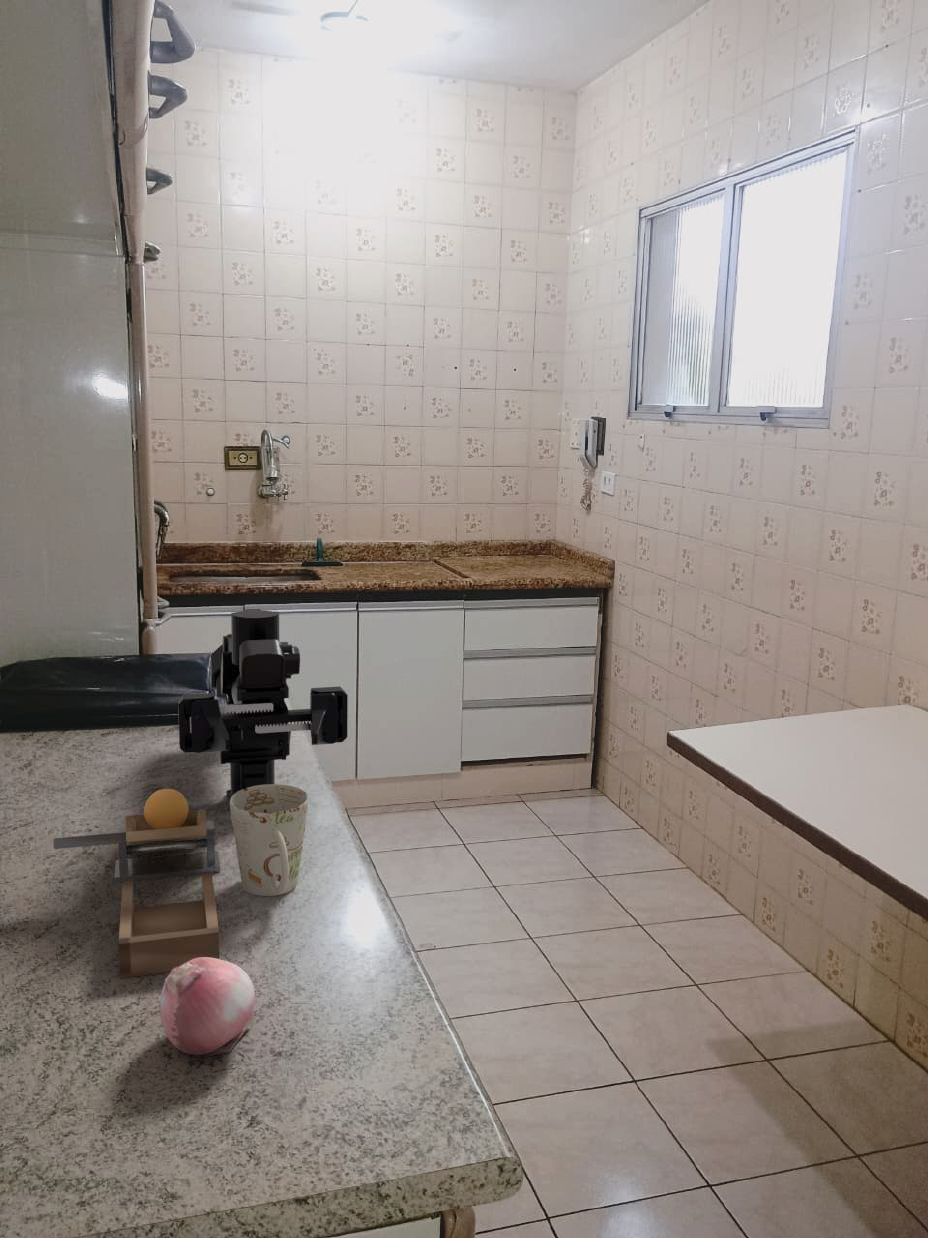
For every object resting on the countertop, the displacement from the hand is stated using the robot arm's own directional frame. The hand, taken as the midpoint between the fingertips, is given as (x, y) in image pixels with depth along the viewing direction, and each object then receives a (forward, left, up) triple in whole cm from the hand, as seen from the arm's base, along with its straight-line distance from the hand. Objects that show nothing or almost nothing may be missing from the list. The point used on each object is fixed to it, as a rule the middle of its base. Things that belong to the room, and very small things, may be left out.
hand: (272, 742), depth 104 cm
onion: (+26, -8, -17) cm, 32 cm away
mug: (+1, 0, -17) cm, 17 cm away
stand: (-7, -11, -17) cm, 21 cm away
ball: (-13, -11, -12) cm, 21 cm away
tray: (+8, -11, -17) cm, 21 cm away
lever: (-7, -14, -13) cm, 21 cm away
